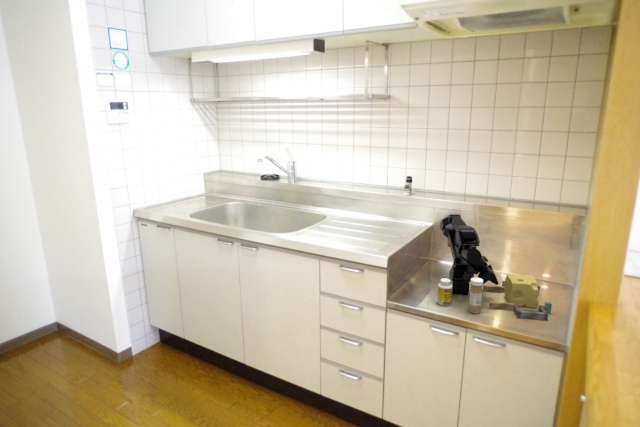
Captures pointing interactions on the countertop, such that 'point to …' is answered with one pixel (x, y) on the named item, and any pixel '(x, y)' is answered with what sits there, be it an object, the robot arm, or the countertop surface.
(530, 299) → the cheese
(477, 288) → the sprinkles bottle
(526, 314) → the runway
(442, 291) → the supplement bottle
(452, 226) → the robot arm
